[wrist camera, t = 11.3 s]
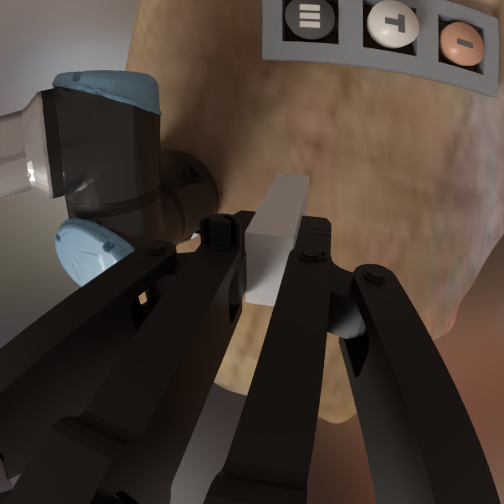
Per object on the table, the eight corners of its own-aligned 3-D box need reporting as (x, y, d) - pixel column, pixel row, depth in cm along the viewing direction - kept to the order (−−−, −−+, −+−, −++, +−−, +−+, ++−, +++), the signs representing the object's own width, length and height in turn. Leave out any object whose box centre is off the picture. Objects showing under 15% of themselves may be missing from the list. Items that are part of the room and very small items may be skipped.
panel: (266, 60, 37) (262, 59, 35) (266, -16, 31) (262, -22, 28) (487, 95, 31) (497, 97, 28) (488, 21, 25) (497, 18, 22)
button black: (288, 40, 35) (284, 36, 32) (288, 1, 32) (284, -6, 28) (334, 42, 33) (334, 39, 30) (334, 3, 30) (334, -4, 27)
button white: (366, 44, 31) (369, 40, 28) (366, 3, 28) (369, -4, 25) (412, 52, 30) (419, 49, 27) (411, 11, 27) (418, 5, 24)
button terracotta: (435, 60, 31) (444, 58, 28) (435, 20, 28) (444, 16, 24) (473, 70, 29) (484, 70, 26) (473, 32, 26) (484, 29, 23)
